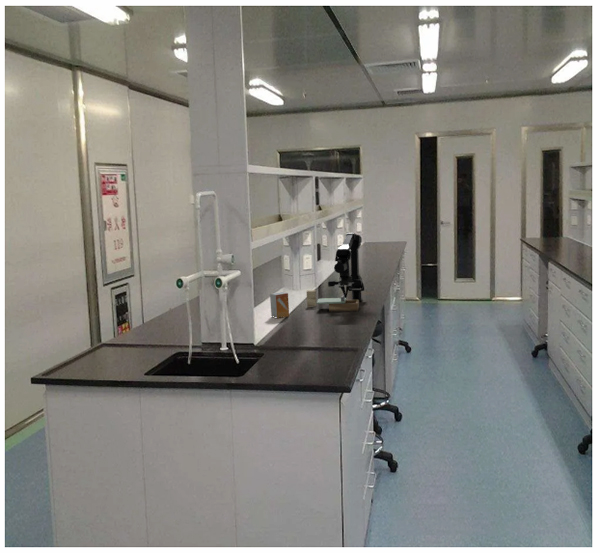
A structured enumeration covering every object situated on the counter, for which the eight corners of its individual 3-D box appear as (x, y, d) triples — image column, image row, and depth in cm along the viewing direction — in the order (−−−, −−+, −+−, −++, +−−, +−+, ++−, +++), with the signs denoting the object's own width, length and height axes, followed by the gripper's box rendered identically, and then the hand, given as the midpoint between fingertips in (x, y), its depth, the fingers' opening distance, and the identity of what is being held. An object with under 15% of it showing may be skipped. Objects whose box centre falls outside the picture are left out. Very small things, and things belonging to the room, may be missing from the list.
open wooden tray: (331, 307, 343) (330, 300, 343) (358, 306, 341) (358, 299, 340) (329, 311, 331) (328, 304, 331) (357, 310, 329) (357, 303, 328)
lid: (318, 300, 343) (318, 295, 343) (346, 299, 341) (346, 294, 341) (316, 304, 332) (316, 298, 332) (345, 303, 330) (344, 298, 329)
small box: (277, 318, 321) (275, 294, 319) (271, 317, 326) (269, 293, 324) (289, 316, 325) (288, 292, 323) (283, 314, 330) (282, 291, 329)
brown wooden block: (308, 305, 354) (307, 290, 352) (316, 305, 353) (315, 290, 352) (307, 306, 349) (306, 291, 348) (315, 306, 348) (314, 291, 347)
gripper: (326, 273, 326) (328, 301, 329) (360, 271, 324) (361, 299, 326) (328, 270, 337) (329, 297, 339) (361, 269, 335) (362, 296, 337)
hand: (345, 297), depth 335 cm, fingers closed
